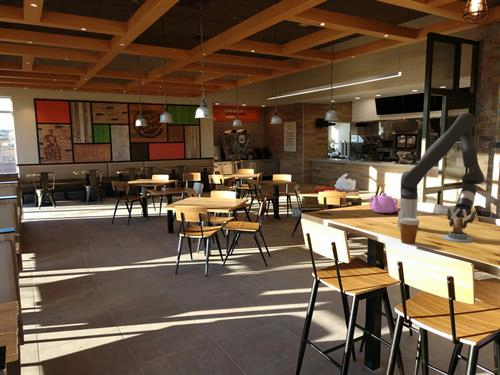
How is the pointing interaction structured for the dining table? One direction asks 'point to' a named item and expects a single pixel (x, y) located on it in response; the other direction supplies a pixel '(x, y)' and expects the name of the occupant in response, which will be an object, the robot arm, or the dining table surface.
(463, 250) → the dining table surface
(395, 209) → the teapot
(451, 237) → the ring socket
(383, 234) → the dining table surface
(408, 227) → the disposable coffee cup
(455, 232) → the walnut plug
